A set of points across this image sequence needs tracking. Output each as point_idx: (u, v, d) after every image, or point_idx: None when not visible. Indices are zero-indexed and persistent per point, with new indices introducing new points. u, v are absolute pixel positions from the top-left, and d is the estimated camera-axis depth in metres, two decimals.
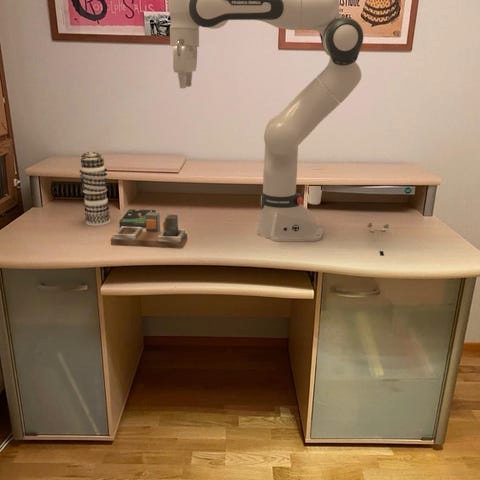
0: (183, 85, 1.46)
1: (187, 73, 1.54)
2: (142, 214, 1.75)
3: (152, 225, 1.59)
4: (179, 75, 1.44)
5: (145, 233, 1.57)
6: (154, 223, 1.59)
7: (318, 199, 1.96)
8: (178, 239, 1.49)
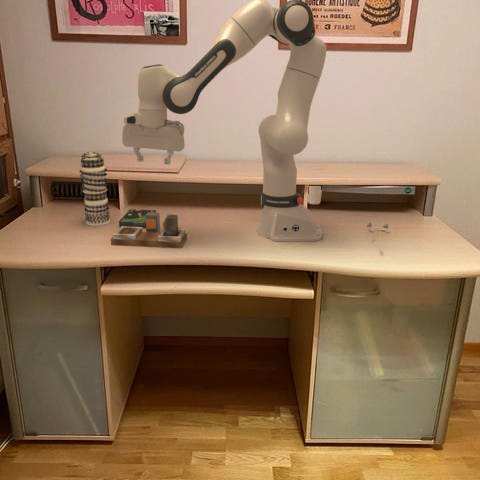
0: (169, 161, 1.54)
1: (138, 149, 1.54)
2: (142, 214, 1.75)
3: (152, 225, 1.59)
4: (171, 153, 1.52)
5: (145, 233, 1.57)
6: (154, 223, 1.59)
7: (318, 199, 1.96)
8: (178, 239, 1.49)
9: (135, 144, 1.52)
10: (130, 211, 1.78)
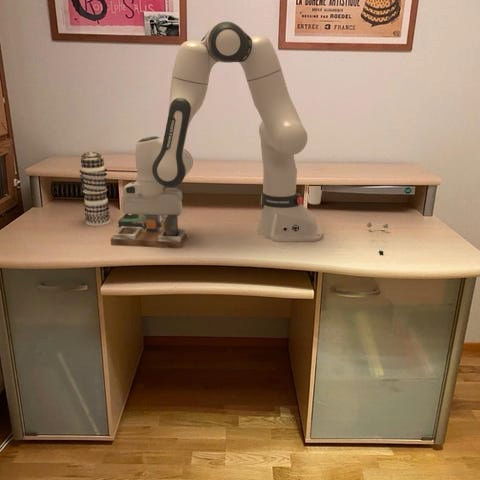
0: None
1: (143, 215, 1.60)
2: None
3: (152, 225, 1.59)
4: (165, 217, 1.59)
5: (145, 233, 1.57)
6: (154, 223, 1.59)
7: (318, 199, 1.96)
8: (178, 239, 1.49)
9: (134, 211, 1.58)
10: None
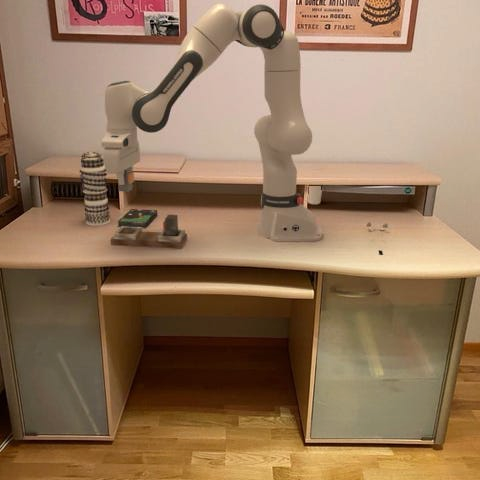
0: None
1: None
2: (142, 214, 1.75)
3: (132, 178, 1.49)
4: None
5: (145, 233, 1.57)
6: (133, 175, 1.49)
7: (318, 199, 1.96)
8: (178, 239, 1.49)
9: (123, 168, 1.42)
10: (131, 211, 1.79)
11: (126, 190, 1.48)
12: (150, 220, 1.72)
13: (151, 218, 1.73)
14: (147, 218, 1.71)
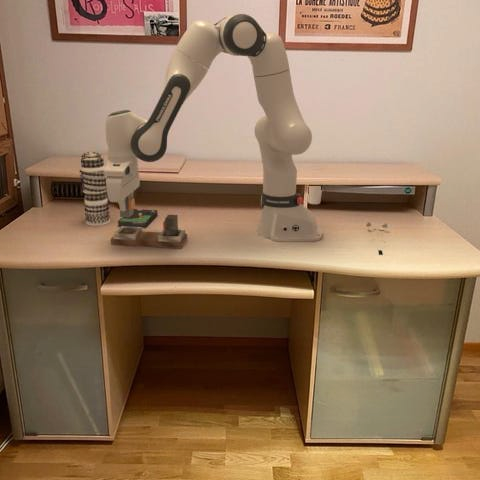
0: None
1: None
2: (142, 214, 1.75)
3: (133, 203, 1.51)
4: None
5: (145, 233, 1.57)
6: (134, 201, 1.52)
7: (318, 199, 1.96)
8: (178, 239, 1.49)
9: (125, 195, 1.44)
10: None
11: (127, 216, 1.50)
12: (150, 220, 1.72)
13: (151, 218, 1.73)
14: (147, 218, 1.71)
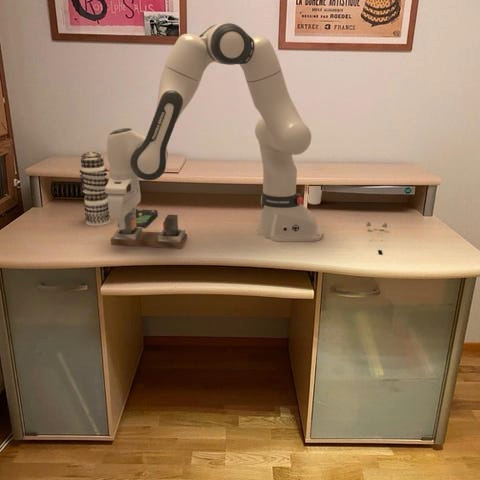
0: None
1: None
2: (142, 214, 1.75)
3: (135, 223, 1.54)
4: None
5: (145, 233, 1.57)
6: (135, 221, 1.54)
7: (318, 199, 1.96)
8: (178, 239, 1.49)
9: (126, 212, 1.46)
10: None
11: None
12: (150, 220, 1.72)
13: (151, 218, 1.73)
14: (147, 218, 1.71)
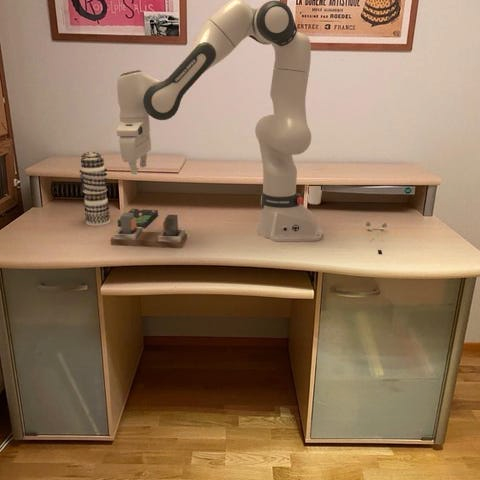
0: None
1: None
2: (142, 214, 1.75)
3: (135, 223, 1.54)
4: None
5: (145, 233, 1.57)
6: (135, 221, 1.54)
7: (318, 199, 1.96)
8: (178, 239, 1.49)
9: (138, 156, 1.45)
10: (132, 210, 1.79)
11: None
12: (150, 220, 1.72)
13: (151, 218, 1.73)
14: (147, 218, 1.71)
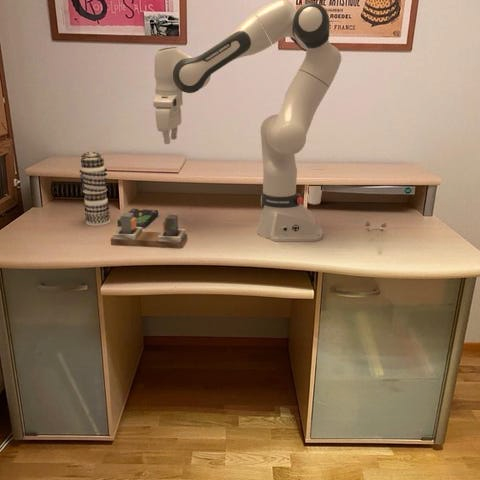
0: None
1: None
2: (142, 214, 1.75)
3: (135, 223, 1.54)
4: None
5: (145, 233, 1.57)
6: (135, 221, 1.54)
7: (318, 199, 1.96)
8: (178, 239, 1.49)
9: (171, 126, 1.57)
10: (132, 210, 1.79)
11: None
12: (150, 220, 1.72)
13: (151, 218, 1.73)
14: (147, 218, 1.71)
